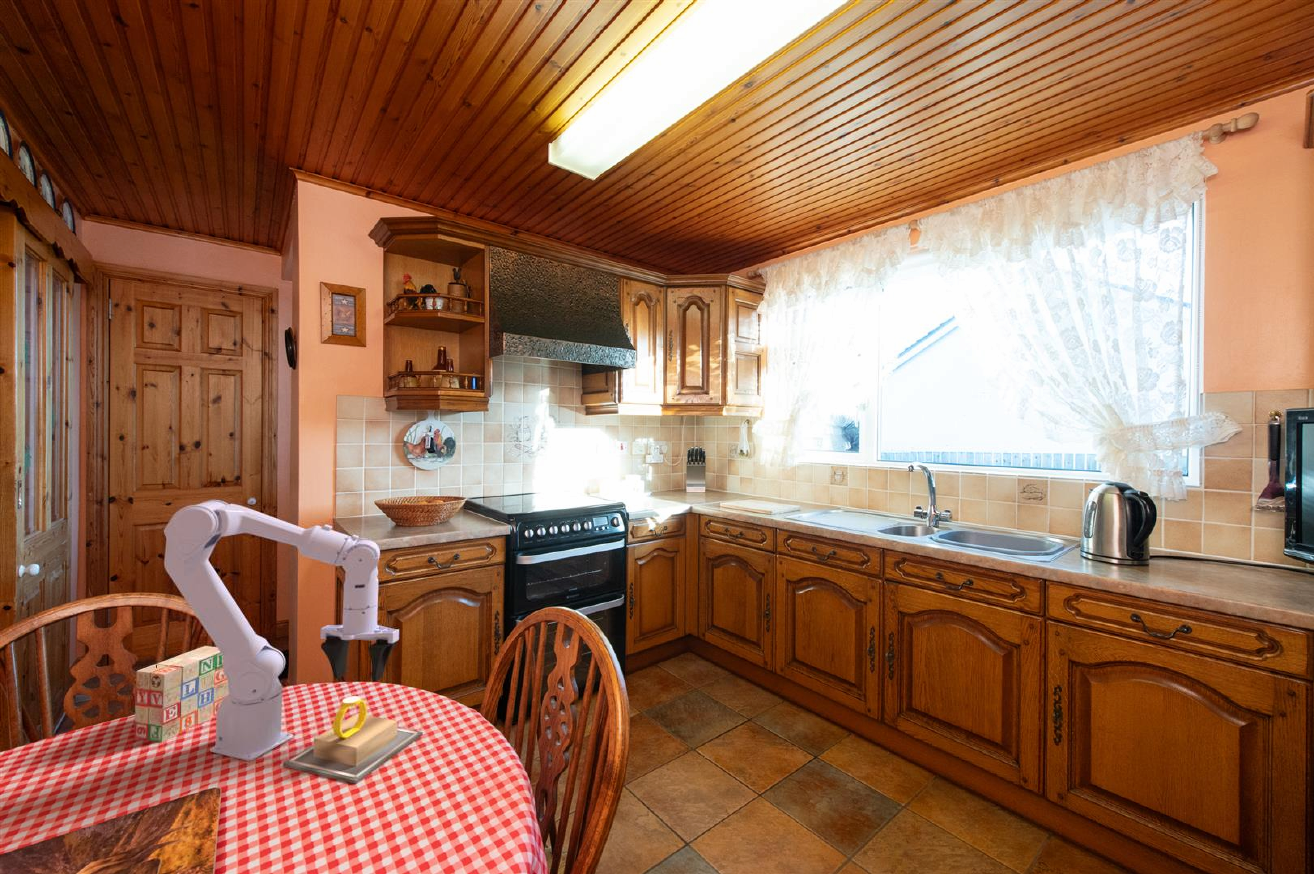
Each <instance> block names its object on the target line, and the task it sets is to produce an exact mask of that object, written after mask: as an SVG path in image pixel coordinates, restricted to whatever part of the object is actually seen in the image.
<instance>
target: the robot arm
mask: <svg viewBox="0 0 1314 874" xmlns="http://www.w3.org/2000/svg"><path fill="white" fill-rule="evenodd" d="M332 528H333V525H328V524H324V525H323V526H320V525H314V526H312V527H308V528H303V527H301V526H298V525H295V524H293V523H290V522H287V521H285V520H281V519H279V518H276V517H273V516H270V515H268V514H266V513H262V512H260V511H257V510H255V509H251V508H249V507H246V506H243V505H240V504H235V503H230V504H229V503H227V502H226V501H223V500H218V499H209V500H206V501H203V502H201V503H197V504H191V505H187V506H185V507H182V508H180V509H179V510H177V511H176V512H175V513H174V514H173V515H172V517H171V518H170V520H169V522H168V523H167V525H166V527H165V528H164V529H163V534H164V535H165V537H166V541H165V551H164V552H165V553H164V563H163V564H164V566H163V567H164V569H165V571H166V572H167V574H168V575H169V578H170V579H172V581H173V583H174V584H175V586H176V587H177V589H178V591H179V592H180V593H181V595H182V597H184V598H183V599H184V600H185V601H186V603H187V604H188V606H189V607H190V609H191V610H192V612H193V613H194V614H195V616H196V618H197V619H198V621H199V622H200V624H201V625H202V627H203V628H204V630H205V631H206V632H207V634H208V636H209V637H210V638H211V641H212V642H213V643H214V644H215V647H217V648H218V649H219V651H220V652H221V654H222V655H223V672H224V674H225V675H226V677H227V679H228V691H229V695H228V696H226V697H225V698H224V699H223V701H222V702H221V704H220V705H219V708H218V710H217V715H216V721H215V723H216V724H215V725H216V727H215V745H214V746H213V747H212V746H211V747H210V749H209V752H211V753H215V754H219V755H223V756H226V757H232V758H235V759H239V760H242V761H243V760H244V761H247V762H249V761H250V762H251V761H253V760H255V759H257V758H258V757H260V756H262V755H264V754H266V753H267V752H269V751H271V750H273V749H274V748H276V747H279V746H280V745H282V744H284V743H286V742H287V741H290V740H291V739H293V738H294V734H292V733H289V732H284V731H282V713H283V712H282V711H283V709H282V708H283V685H282V684H281V682H280V679H279V676H280V675H281V674H282V672H283V671H284V669H285V667H286V666H285V665H286V658H285V656H284V654H283V652H282V651H280V650H279V649H277V648H275V647H273V646H272V645H270V643H269V642H268V641H267V639H266V638H264V637H262V636H260V635H258V634H257V633H256V631H254V629H253V628H252V626H251V625H250V623H249V621H248V619H247V618H246V617H245V615H244V614H243V612H242V610H241V609H240V607H239V605H238V604H237V603H236V601H235V599H234V598H233V596H232V595H231V593H230V592H229V590H228V589H227V587H226V586H225V584H224V582H223V581H222V579H221V577H220V576H219V575H218V573H217V572H216V570H215V569H214V567H213V566H212V564H211V563H210V561H209V558H210V556H211V555H212V553H213V551H214V548H215V547H216V544H217V542H218V541H219V540H220V539H221V538H222V537H228V536H234V535H240V534H241V535H242V534H249V535H254V536H257V537H262V538H264V539H269V540H273V541H276V542H280V543H283V544H287V545H292V546H295V547H296V549H297V551H298V552H299V554H300V555H301V557H306V558H309V559H312V560H316V561H318V562H322V563H326V564H328V565H331V566H336V567H340V566H341V567H342V568H343V570H344V571H345V574H344V575H345V577H344V578H345V579H344V582H343V603H342V605H343V606H342V624H335V625H334V624H332V625H331V624H328V625H325V626H323V627H321V628H320V639H321V640H322V639H323V640H325V641H324V642H321V643H320V648H321V650H322V651H323V653H324V654H325V655H326V658H327V659H328V662H329V663H330V667H331V671H332V674H333V677H334V679H335V680H339V679H340V678H342V677H344V676H345V675H346V671H347V657H348V650H349V645H350V641H351V640H358V641H359V640H361V641H373V642H374V641H375V642H374V643H372V644H371V645H368V648H367V649H368V652H369V655H370V662H371V680H372V681H371V682H372V683H375V682H378V681H380V680H381V679H383V676H384V673H385V668H386V666H387V663H388V660H389V657H390V655H391V653H392V651H393V650H394V647H395V646H396V644H397V642H398V641H399V640H400V629H398V628H397V629H395V628H390V627H387V626H382V625H379V624H378V613H379V612H378V611H379V610H378V609H379V608H378V607H379V606H378V605H379V604H378V603H379V579H378V576H379V569H378V565H379V561H380V557H381V550H380V547H379V545H378V544H377V543H376V542H375V541H373V540H372V539H370V538H367V537H362V538H359V535H357V534H353V535H352V536H351V535H348V534H345V533H342V532H339V531H335V530H333V529H332Z"/></svg>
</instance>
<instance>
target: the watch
mask: <svg viewBox="0 0 1314 874" xmlns="http://www.w3.org/2000/svg"><path fill="white" fill-rule="evenodd" d="M357 705H358V707H359V708H358V709H359V712H358V713H359V716H358V720H357V722H356V723H355V725H354V727H353V728H352V729H350V730H349V731H347V732H346V733H344V734H343V733H342V731H341V723H342V722H343V718H344V716H345V713H346V712H347V711H348V709H349V708H351V707H355V706H357ZM367 706H368V705H367V704H366V702H365V701H364V700H363V699H361V696H358V695H357V696H356V695H354V696H353V695H352V696H349V697H348V696H347V697H345V698H344V699H342V701H341V705H340V707H339V708H338V710H337V712H336V714H335V717H334V718H333V723H332V725H333V726H332V728H333V731H334V733H335V735H336V736H337V737H340V738H345V739H347V738H348V737H349V736H351V735H352V734H354V733H356V732H357V731H359V730H360V729H361V727H362V725H363V724H364V722H365V718H366V715H368V713H367V712H368V710H367V709H368V708H367Z"/></svg>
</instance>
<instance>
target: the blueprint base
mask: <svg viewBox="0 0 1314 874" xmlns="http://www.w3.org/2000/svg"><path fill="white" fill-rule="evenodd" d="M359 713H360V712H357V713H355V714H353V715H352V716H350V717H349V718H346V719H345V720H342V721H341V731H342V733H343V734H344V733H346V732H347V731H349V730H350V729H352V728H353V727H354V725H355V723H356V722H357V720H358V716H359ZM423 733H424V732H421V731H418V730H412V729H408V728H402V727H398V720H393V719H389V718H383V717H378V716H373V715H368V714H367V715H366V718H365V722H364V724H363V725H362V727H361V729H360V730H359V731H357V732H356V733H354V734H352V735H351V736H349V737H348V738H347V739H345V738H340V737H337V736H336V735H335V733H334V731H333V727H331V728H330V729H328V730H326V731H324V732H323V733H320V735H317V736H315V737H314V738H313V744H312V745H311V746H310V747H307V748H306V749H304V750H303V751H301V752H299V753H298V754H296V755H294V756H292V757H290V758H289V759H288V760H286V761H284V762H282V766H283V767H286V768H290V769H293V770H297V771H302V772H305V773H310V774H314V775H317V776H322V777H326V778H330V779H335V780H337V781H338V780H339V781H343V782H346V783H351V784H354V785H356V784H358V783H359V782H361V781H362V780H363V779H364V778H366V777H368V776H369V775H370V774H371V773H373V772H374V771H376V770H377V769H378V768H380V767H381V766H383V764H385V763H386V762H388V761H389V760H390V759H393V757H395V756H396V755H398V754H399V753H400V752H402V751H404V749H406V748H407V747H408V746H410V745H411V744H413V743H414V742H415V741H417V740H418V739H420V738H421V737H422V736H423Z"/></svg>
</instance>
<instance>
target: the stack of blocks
mask: <svg viewBox="0 0 1314 874" xmlns="http://www.w3.org/2000/svg"><path fill="white" fill-rule="evenodd" d="M156 665H157V668H156ZM135 676H136V682H135V684H136V686H135V689H134V690H135V692H134V705H135V707H134V708H135V709H134V710H135V711H134V732H133V733H134V735H133V737H134V739H137V738H138V739H139V740H146V741H151V740H152V741H153V742H158V743H163V742H166V741H167V740H169V739H172V738H174V737H175V736H178V735H180V734H182V733H183V732H184V733H185V732H186V731H188V730H190V729H192V728H194V727H196V726H198V725H200V724H203V723H205V722H206V721H208V719H209V720H210V719H212V718H214V717H216V716H217V710H218V708H219V705H220V704H221V702H222V701H223V699H224V698H225V697H226V696H228V695H229V691H228V679H227V677H226V675H225V674H224V672H223V655H222V654H221V652H220V651H219V649H218V648H217V646H211V645H210V646H208V645H204V646H201V647H198V648H196V649H193V650H190V651H188V652H184V653H182V654H179V655H177V656H174V657H171V658H169V659H166V660H164V661H160V662H157V663H156V664H155V663H154V664H152V665H149V666H147V667H144V668H140V669H139V670H136V675H135ZM220 697H223V698H220ZM215 715H216V716H215ZM197 724H198V725H197ZM189 728H190V729H189ZM181 732H182V733H181ZM179 733H180V734H179Z"/></svg>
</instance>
